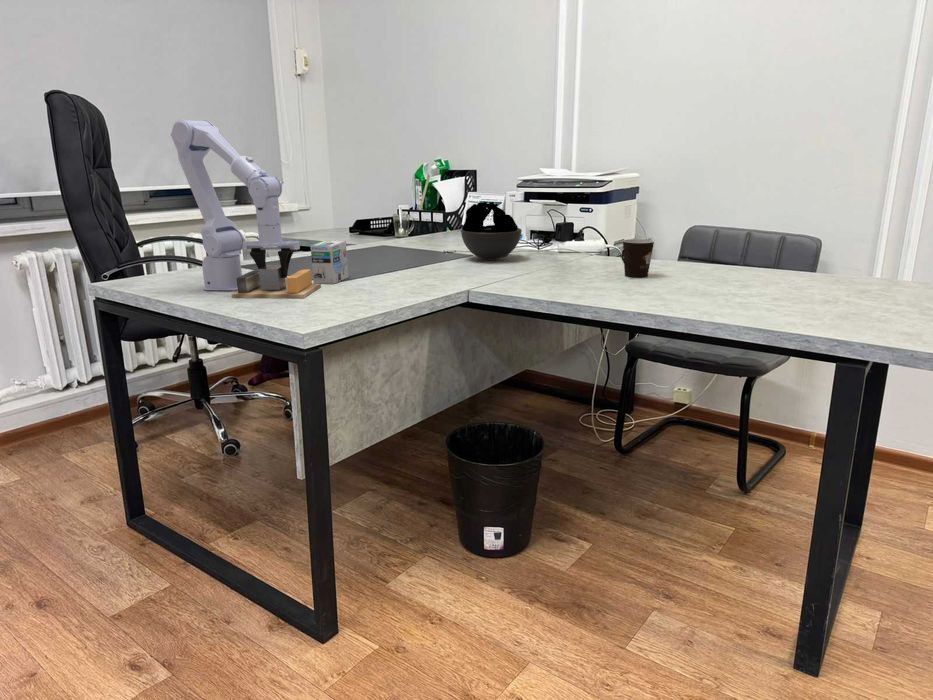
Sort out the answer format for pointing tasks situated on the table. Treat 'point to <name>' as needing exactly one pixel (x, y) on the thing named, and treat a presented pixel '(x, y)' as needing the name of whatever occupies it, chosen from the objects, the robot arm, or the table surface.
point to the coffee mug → (637, 257)
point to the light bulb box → (329, 262)
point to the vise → (252, 289)
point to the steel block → (271, 278)
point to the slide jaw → (298, 281)
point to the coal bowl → (489, 232)
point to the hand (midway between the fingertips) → (274, 277)
